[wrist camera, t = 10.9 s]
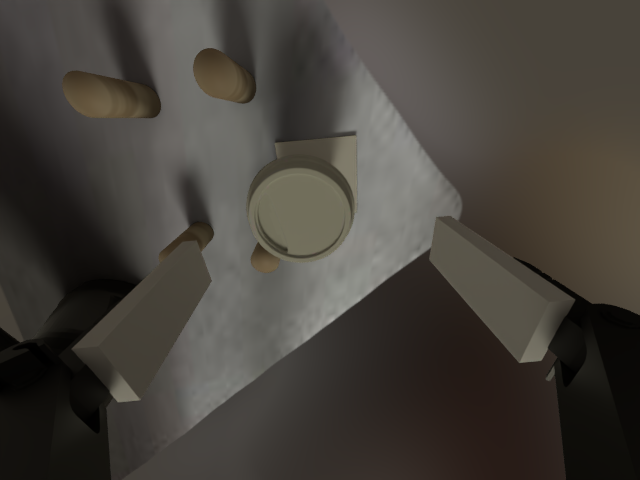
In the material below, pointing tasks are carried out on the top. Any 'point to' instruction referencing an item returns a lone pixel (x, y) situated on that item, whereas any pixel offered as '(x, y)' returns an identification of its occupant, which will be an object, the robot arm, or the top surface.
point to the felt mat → (327, 155)
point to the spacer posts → (142, 102)
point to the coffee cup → (300, 208)
